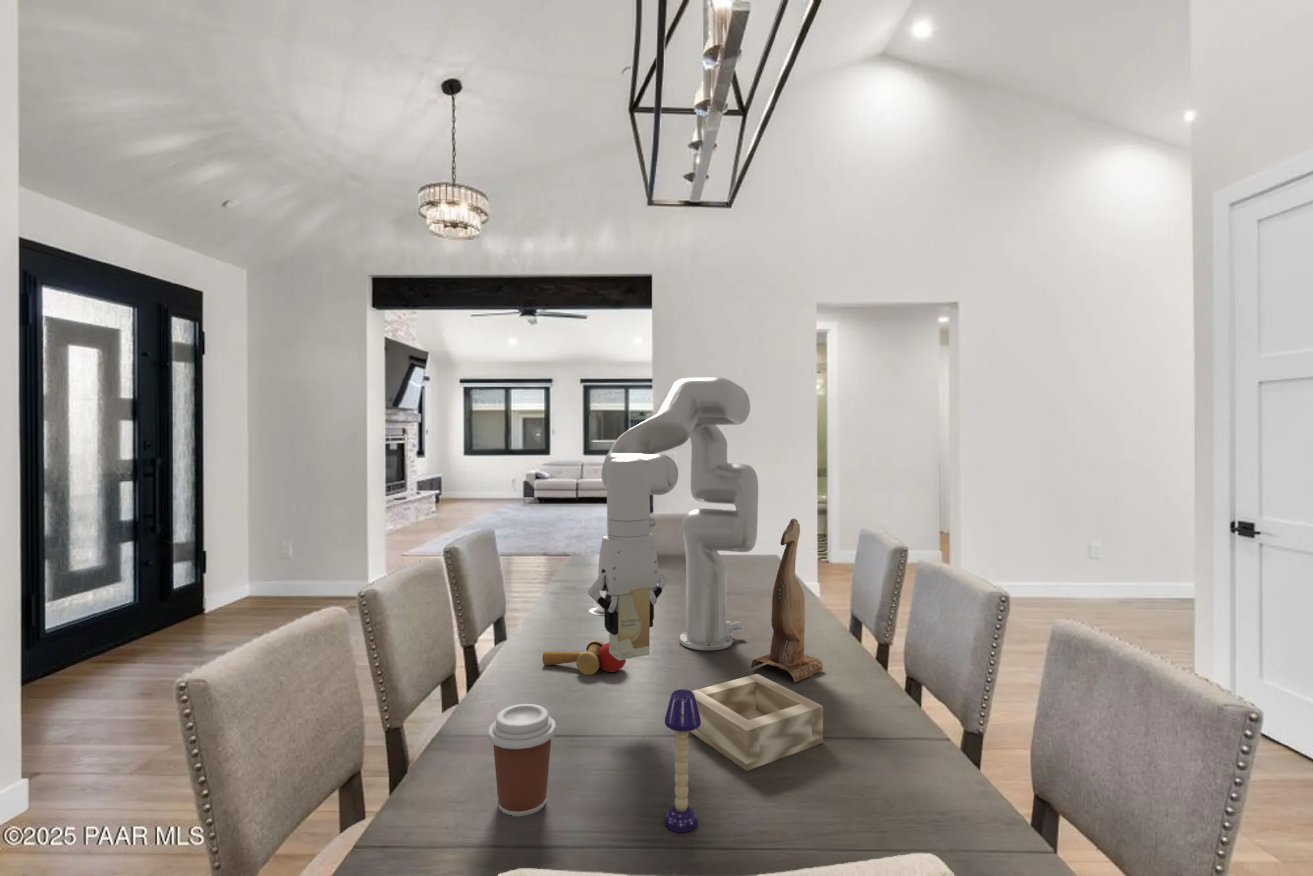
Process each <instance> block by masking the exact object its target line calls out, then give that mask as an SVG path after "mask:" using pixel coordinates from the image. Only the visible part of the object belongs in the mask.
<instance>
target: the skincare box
mask: <svg viewBox="0 0 1313 876" xmlns="http://www.w3.org/2000/svg"><path fill="white" fill-rule="evenodd" d="M615 611H616V612H617V613H618V633H617V635H613V634H611V633H609V632H608V637H609V639H608V640H609V641H608V642H609V653H610V654H611V655H612V656H614V657H615V658H616V659H617V660H624V659H626V660H627V659H628V660H629V659H633V658H635V659H636V658H639V657H645V656H646V657H647V656H649V655H650V628H651V627H650V587H648V588H643V589H637V590H631V591H630V592H628V593H627V594H623V595H619V596H618V602H617V605H616V608H615Z"/></svg>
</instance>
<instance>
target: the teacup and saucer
mask: <svg viewBox="0 0 1313 876" xmlns="http://www.w3.org/2000/svg"><path fill="white" fill-rule="evenodd" d="M602 597H603V598H604V596H602ZM593 605H594V606H595V607H591V608H590V609H589V610H588V613H590V614H591V615H596V616H604V609H603V608H602V607H601V606H600V605H599V604H598V603H596V601H595V600H594V599H593ZM596 610H598V611H599V613H596V612H595V611H596Z"/></svg>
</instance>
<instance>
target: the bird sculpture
mask: <svg viewBox="0 0 1313 876" xmlns="http://www.w3.org/2000/svg"><path fill="white" fill-rule="evenodd" d="M800 534H801V525H800V523H799V521H798V520H797V519H796V518H792V519H790V521H789V523H788V525H787V526H786V529H785V530H784V531H783V533H782V536H781V539H780V545H781V546H785V548H784V549H783V553H782V557H781V561H780V564H779V567H778V570H777V573H776V577H775V581H774V586H773V590H772V591H773V592H772V601H771V627H772V630H773V632H772V637H771V643H770V653H767V654H766V655H763V656H760V657H758V658H757V657H756V658H754V659H753V660H751V663H750V664H751V665H750V667H751V668H752V669H753V668H755V667H758V666H761V665H763V664H767V665H771V666H774V667H778V668H779V669H783V670H785V671H786V672H788V673H789V674H790V675H791V677H792V678H793V679H792V680H793V683H797V682H800V681H802V680H803V679H806V678H809V677H811V676H813V675H815V674H817V673H818V674H819V673H820V672H821V671H823V670H824V668H823V666H824V665H823V662H822V660H821V659H819V658H816V657H814V656H810V655H806V654H805V652H804V651H805V633H806V632H805V629H806V628H805V624H806V622H805V621H806V620H805V619H806V618H805V617H806V616H805V615H806V603H805V600H806V599H805V594H804V593H805V592H804V590H803V588H802V586H801V583H800V582H799V580H798V578H797V577H796V561H797V554H798V553H797V551H798V550H797V549H798V544H799V543H798V542H799V538H800V536H801V535H800Z"/></svg>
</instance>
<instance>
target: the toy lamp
mask: <svg viewBox="0 0 1313 876" xmlns="http://www.w3.org/2000/svg"><path fill="white" fill-rule="evenodd" d="M692 691H693V690H689V689H684V688H683V689H676V690H674V691H673V692H671V694H670V699H669V702H668V705H667V709H666V713H665V717H664V725H665V726H666V727H667V728H668V729H670V730H672V731H674V733H675V736H676V737H675V740H674V745H675V750H674V759H675V762H674V771H675V774H674V784H675V786H674V795H675V798H674V805H672V806H671V807H670V808H669V809H668V810H667V811H666V814H665V815H664V816H665V817H664V825H665V824H666V825H665V827H666V826H667V827H668V828H667V827H666V828H667V829H668V830H670V831H672V830H673V831H672V832H677V833H686V832H689V831H693V830H694V829H695V828H696V827H697V825H698V817H697V814H696V813H695V811H694V809H693V808H691V807H690V806H689V799H688V794H689V787H688V783H689V773H688V770H689V762H688V759H689V749H688V748H689V738H688V736H689V734H690V731H692V730H695V729H697V728H698V727H699V726H700V724H701V720H700V715H699V711H698V706H697V702H696V698H695V695H694V693H693V692H692Z"/></svg>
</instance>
